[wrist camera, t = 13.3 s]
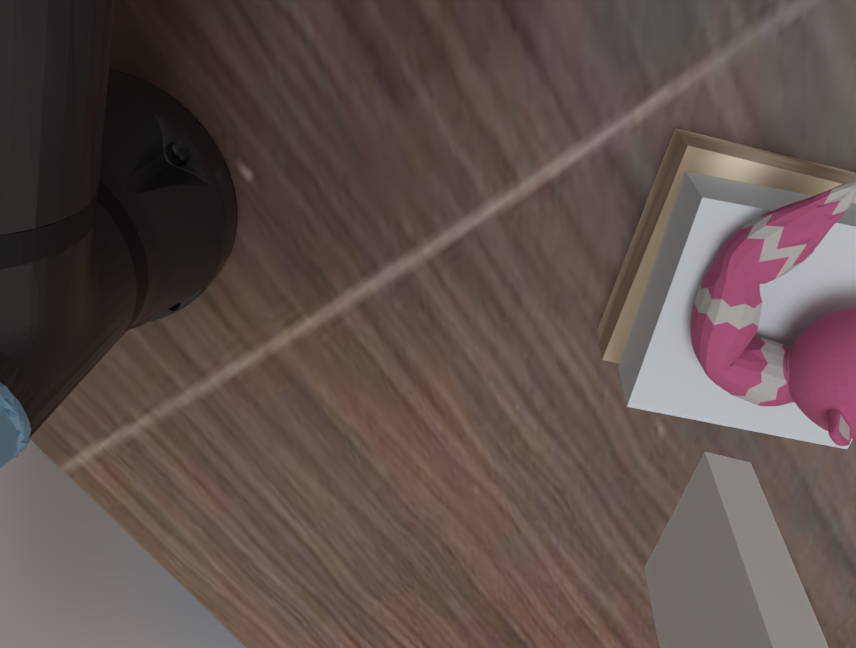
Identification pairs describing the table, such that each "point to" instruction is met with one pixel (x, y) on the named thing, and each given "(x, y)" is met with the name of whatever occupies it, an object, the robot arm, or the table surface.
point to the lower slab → (680, 156)
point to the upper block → (779, 320)
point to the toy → (740, 313)
